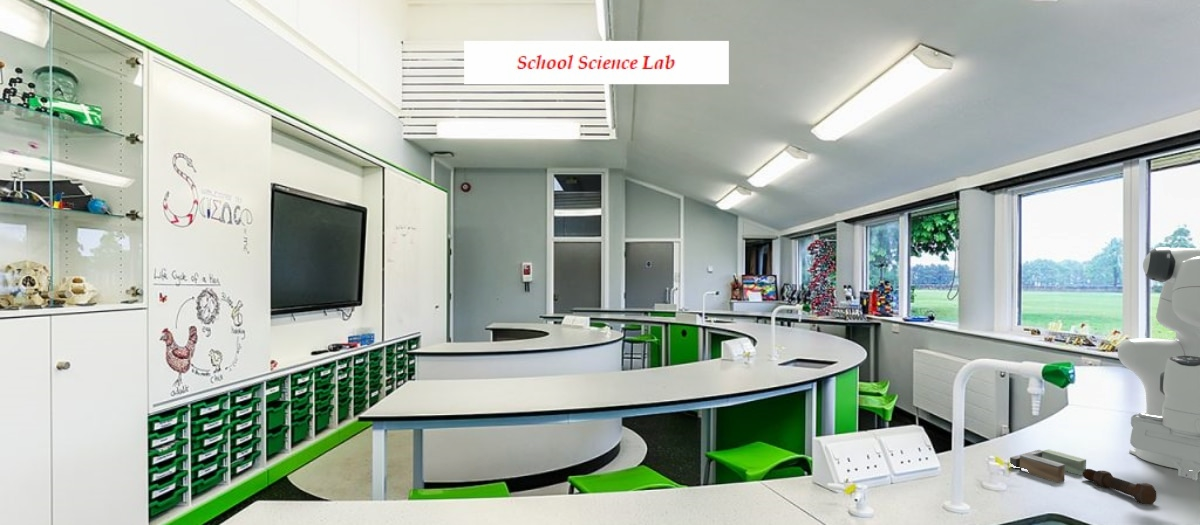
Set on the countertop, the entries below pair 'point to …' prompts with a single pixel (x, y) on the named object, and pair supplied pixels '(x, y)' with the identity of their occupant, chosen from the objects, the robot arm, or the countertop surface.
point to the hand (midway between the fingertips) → (1187, 478)
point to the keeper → (1049, 464)
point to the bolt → (1122, 486)
